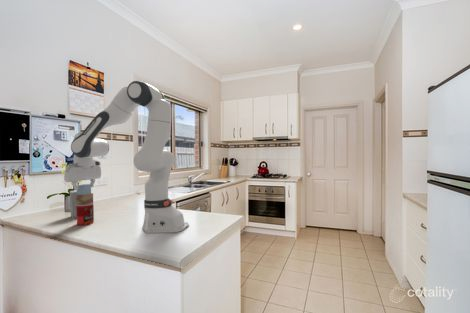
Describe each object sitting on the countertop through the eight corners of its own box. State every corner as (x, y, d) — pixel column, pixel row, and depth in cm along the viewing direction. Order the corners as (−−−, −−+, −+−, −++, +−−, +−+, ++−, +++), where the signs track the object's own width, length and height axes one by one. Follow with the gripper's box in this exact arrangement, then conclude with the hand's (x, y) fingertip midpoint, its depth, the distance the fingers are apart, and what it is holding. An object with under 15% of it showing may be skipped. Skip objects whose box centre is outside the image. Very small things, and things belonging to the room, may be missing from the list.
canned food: (85, 226, 119) (85, 205, 119) (72, 225, 120) (72, 204, 120) (97, 221, 126) (96, 202, 126) (85, 221, 128) (84, 201, 128)
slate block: (91, 193, 125) (90, 184, 125) (84, 194, 121) (83, 185, 121) (84, 193, 126) (83, 184, 126) (77, 194, 122) (76, 185, 122)
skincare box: (85, 213, 145) (85, 188, 145) (88, 215, 140) (88, 189, 140) (69, 216, 139) (69, 190, 139) (72, 218, 134) (71, 191, 134)
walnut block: (93, 202, 125) (93, 193, 125) (84, 204, 120) (84, 195, 120) (84, 202, 127) (84, 193, 127) (76, 204, 121) (75, 194, 121)
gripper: (71, 163, 112) (71, 191, 113) (102, 162, 132) (103, 186, 133) (60, 163, 114) (61, 191, 114) (93, 162, 134) (94, 186, 134)
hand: (84, 188), depth 123 cm, fingers open, 8 cm apart
